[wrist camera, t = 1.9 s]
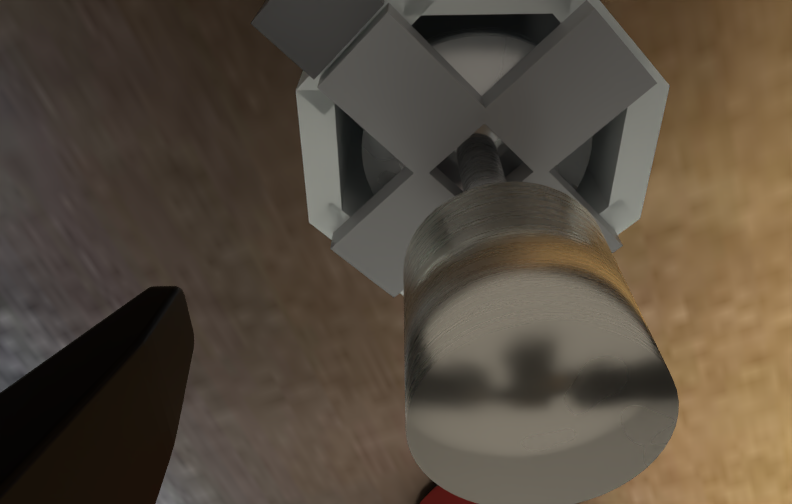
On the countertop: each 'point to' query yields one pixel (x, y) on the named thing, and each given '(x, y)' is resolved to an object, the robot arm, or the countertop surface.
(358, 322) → the countertop surface
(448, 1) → the grey faceted drum
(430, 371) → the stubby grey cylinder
